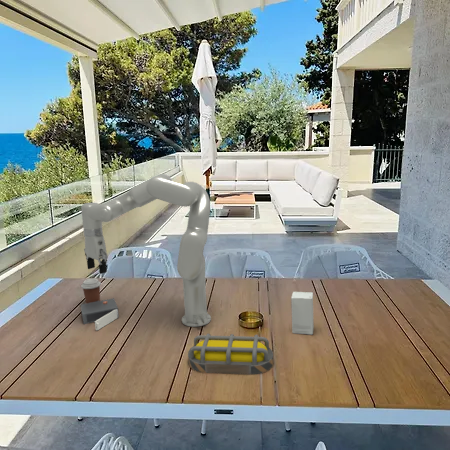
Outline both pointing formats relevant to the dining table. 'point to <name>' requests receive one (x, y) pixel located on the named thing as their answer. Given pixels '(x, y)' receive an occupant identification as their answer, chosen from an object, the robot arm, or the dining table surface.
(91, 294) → the coffee cup
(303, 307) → the skincare box
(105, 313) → the gray button box
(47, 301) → the dining table surface
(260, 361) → the cage light
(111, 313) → the light grey flat bar
